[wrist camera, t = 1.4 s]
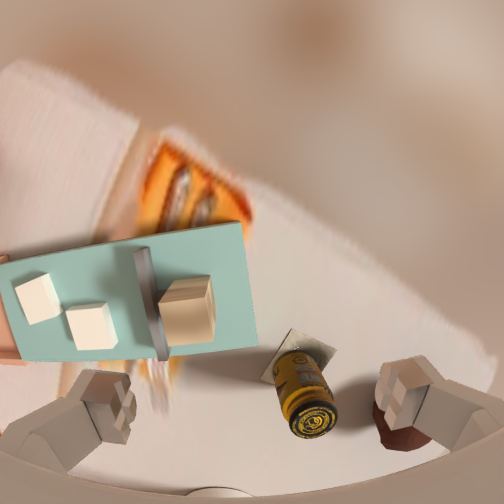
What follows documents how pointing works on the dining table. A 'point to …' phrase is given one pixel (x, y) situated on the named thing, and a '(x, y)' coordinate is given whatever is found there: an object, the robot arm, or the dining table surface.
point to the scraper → (175, 307)
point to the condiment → (303, 385)
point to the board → (133, 292)
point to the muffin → (398, 434)
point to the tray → (8, 335)
